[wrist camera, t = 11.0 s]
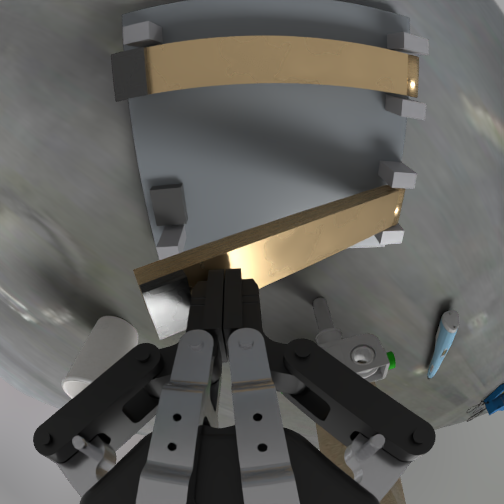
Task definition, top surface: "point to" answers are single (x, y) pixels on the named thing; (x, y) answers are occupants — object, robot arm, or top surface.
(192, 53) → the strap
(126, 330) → the dixie cup
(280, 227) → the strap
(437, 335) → the 3d printing pen
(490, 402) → the soldering iron
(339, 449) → the tube
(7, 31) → the top surface
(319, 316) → the mechanical component
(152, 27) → the mount plate
